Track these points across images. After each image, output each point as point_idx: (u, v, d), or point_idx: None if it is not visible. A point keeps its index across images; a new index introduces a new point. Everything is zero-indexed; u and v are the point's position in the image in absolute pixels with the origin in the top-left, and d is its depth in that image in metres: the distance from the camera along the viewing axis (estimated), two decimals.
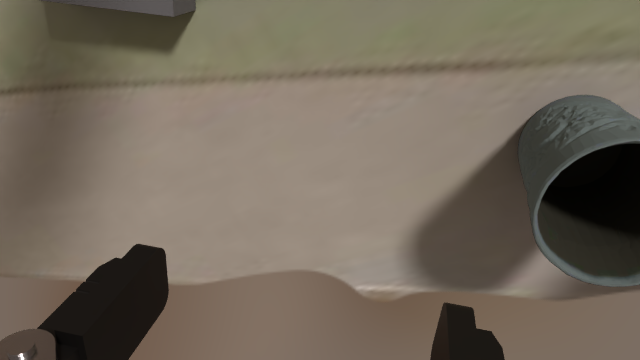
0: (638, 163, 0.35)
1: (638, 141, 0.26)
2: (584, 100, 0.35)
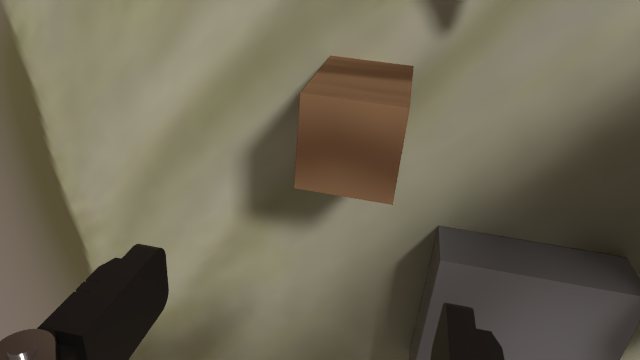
0: None
1: None
2: None
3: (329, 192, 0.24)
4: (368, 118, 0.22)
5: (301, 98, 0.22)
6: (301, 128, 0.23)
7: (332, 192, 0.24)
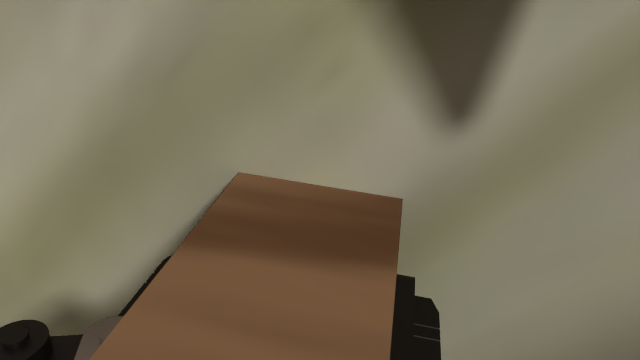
0: None
1: None
2: None
3: None
4: None
5: None
6: None
7: None
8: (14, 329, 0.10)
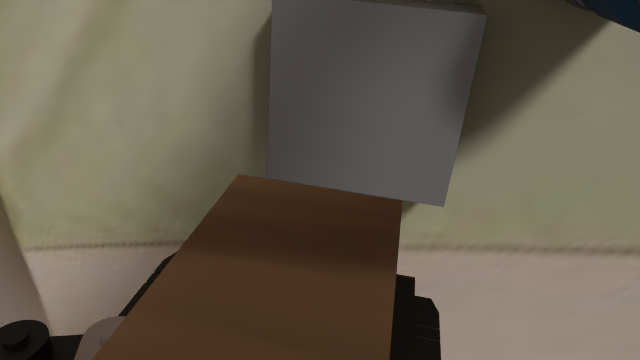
0: None
1: None
2: None
3: None
4: None
5: None
6: None
7: None
8: (14, 329, 0.10)
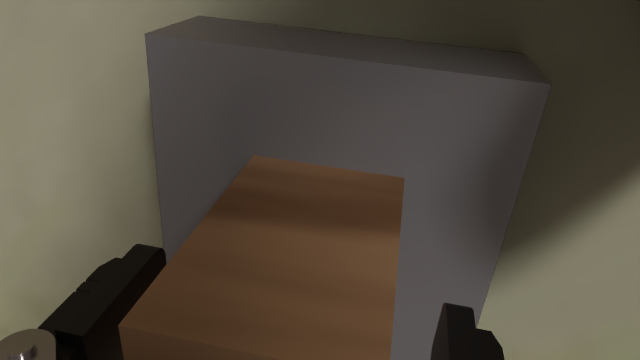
0: None
1: None
2: None
3: None
4: None
5: (123, 336, 0.09)
6: None
7: None
8: None
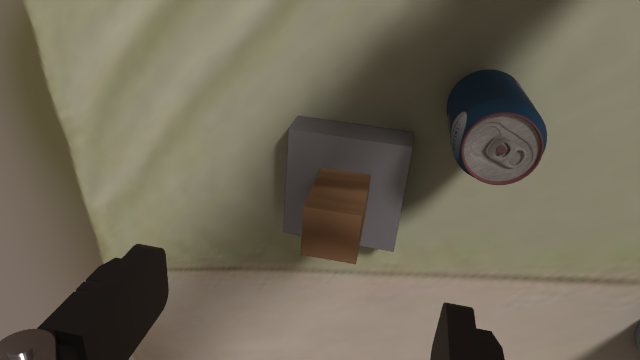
0: None
1: None
2: None
3: (320, 256, 0.43)
4: (340, 220, 0.40)
5: (304, 209, 0.41)
6: (304, 223, 0.41)
7: (322, 257, 0.43)
8: None
